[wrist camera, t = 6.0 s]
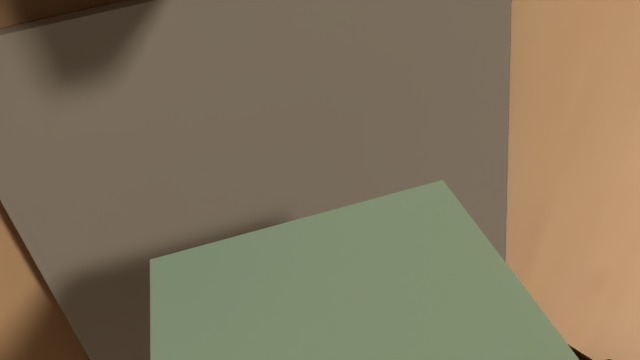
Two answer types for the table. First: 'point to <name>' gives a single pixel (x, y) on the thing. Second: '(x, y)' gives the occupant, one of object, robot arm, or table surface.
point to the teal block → (351, 290)
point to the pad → (235, 131)
